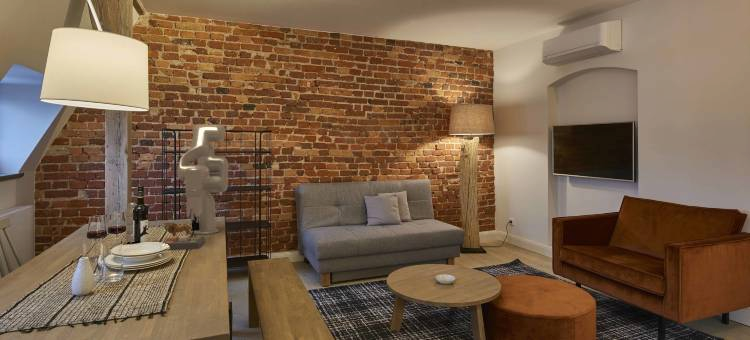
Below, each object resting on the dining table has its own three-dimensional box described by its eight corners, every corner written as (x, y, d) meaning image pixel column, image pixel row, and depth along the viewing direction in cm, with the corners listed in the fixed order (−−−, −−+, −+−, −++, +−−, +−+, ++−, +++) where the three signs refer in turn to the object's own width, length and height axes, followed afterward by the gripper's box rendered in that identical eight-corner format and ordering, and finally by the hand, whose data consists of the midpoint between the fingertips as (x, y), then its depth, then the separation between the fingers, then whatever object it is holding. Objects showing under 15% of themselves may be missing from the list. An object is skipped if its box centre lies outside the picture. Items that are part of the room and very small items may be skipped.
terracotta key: (169, 240, 204) (169, 236, 204) (178, 240, 204) (178, 235, 204) (167, 242, 200) (166, 238, 200) (175, 242, 200) (175, 237, 200)
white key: (181, 240, 205) (181, 235, 204) (189, 240, 205) (189, 235, 205) (178, 242, 201) (178, 237, 200) (187, 242, 201) (187, 237, 201)
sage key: (192, 242, 205) (192, 237, 205) (201, 241, 206) (201, 237, 206) (190, 244, 201) (190, 239, 201) (198, 243, 202) (198, 239, 202)
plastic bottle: (136, 244, 206) (134, 204, 204) (122, 244, 206) (120, 203, 204) (143, 241, 212) (142, 202, 211) (130, 241, 212) (128, 202, 211)
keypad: (169, 243, 207) (169, 237, 207) (204, 242, 209) (204, 236, 209) (161, 250, 195) (161, 243, 195) (198, 248, 197) (198, 242, 197)
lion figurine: (165, 240, 214) (164, 222, 214) (164, 238, 219) (163, 221, 218) (196, 237, 222) (195, 220, 221) (194, 235, 226) (194, 218, 226)
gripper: (190, 190, 209) (192, 226, 211) (181, 196, 194) (183, 234, 197) (206, 190, 210) (207, 226, 212) (198, 195, 195) (199, 234, 198)
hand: (195, 230), depth 204 cm, fingers closed
